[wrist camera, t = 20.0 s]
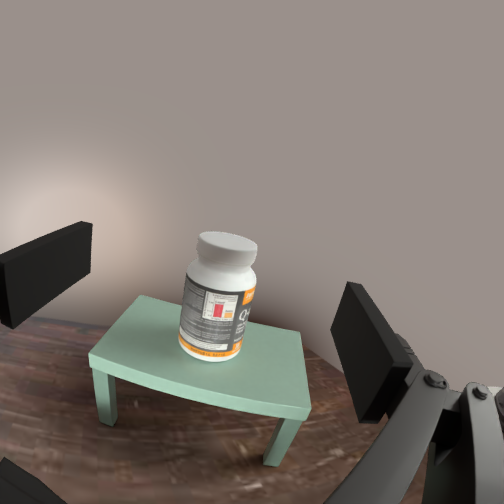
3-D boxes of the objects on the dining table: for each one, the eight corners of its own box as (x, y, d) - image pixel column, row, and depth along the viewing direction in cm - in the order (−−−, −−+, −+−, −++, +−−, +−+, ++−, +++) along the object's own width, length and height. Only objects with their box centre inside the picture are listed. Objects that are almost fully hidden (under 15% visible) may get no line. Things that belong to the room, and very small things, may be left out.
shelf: (278, 391, 35) (300, 332, 33) (279, 468, 24) (311, 409, 21) (137, 357, 35) (140, 294, 32) (97, 422, 23) (88, 353, 21)
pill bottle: (245, 366, 25) (274, 257, 22) (178, 362, 23) (194, 246, 21) (233, 330, 30) (255, 235, 27) (176, 325, 29) (190, 225, 26)
